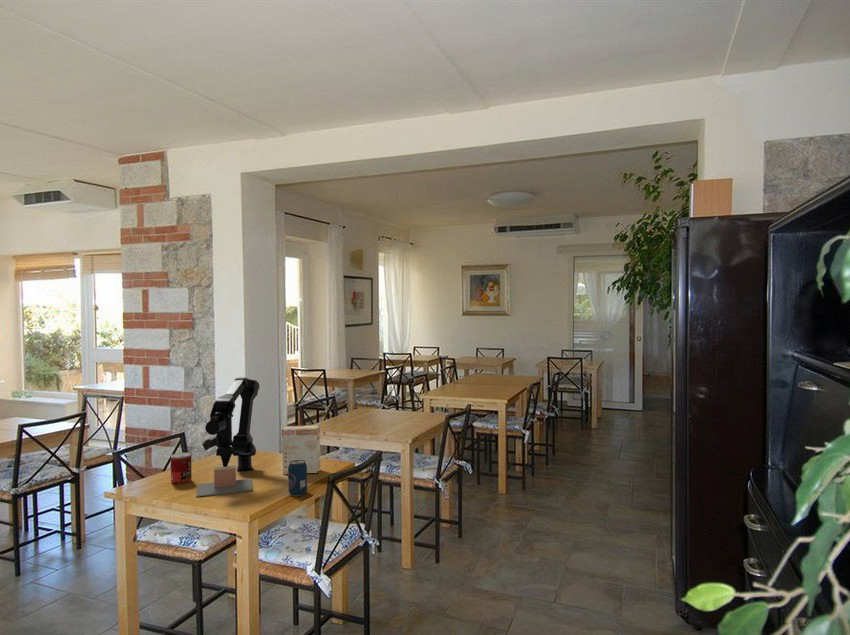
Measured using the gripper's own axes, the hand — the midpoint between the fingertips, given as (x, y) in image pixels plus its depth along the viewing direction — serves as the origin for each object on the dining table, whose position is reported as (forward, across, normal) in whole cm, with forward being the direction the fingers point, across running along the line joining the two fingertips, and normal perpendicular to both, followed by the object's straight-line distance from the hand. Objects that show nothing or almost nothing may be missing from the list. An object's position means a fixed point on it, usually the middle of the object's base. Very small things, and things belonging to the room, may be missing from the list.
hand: (225, 468), depth 229 cm
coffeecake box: (+6, -2, +31) cm, 32 cm away
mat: (+5, +10, 0) cm, 11 cm away
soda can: (+6, +28, +26) cm, 39 cm away
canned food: (+6, -7, -17) cm, 19 cm away
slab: (+5, +8, 0) cm, 9 cm away
